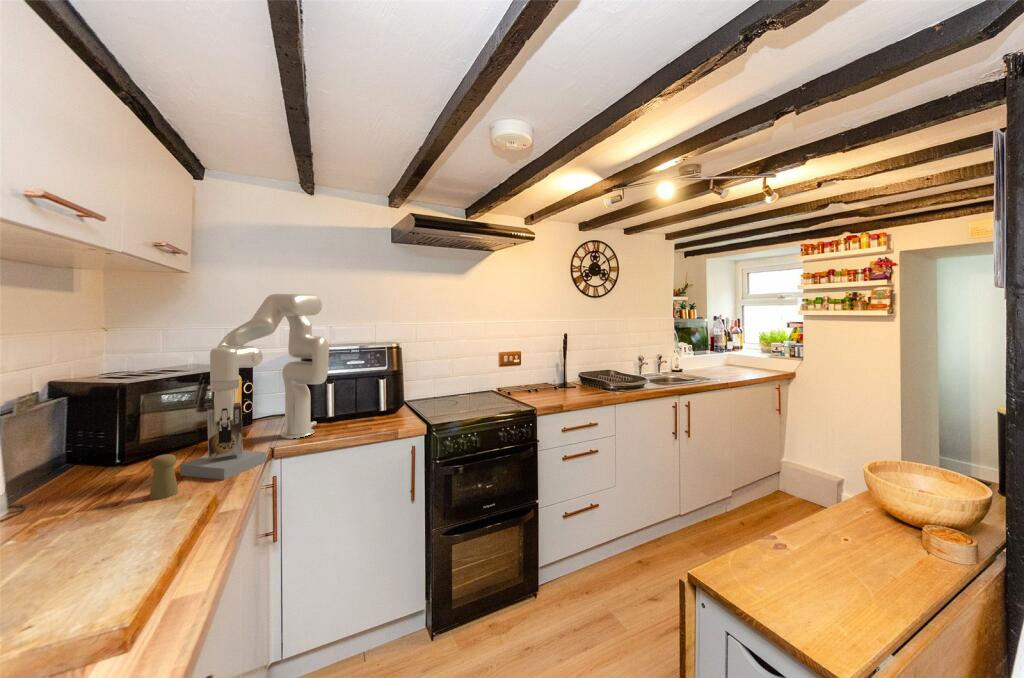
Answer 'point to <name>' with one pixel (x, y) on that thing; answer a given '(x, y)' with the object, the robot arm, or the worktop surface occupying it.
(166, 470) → the olive pepper mill
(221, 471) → the podium
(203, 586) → the worktop surface
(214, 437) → the coffee box
